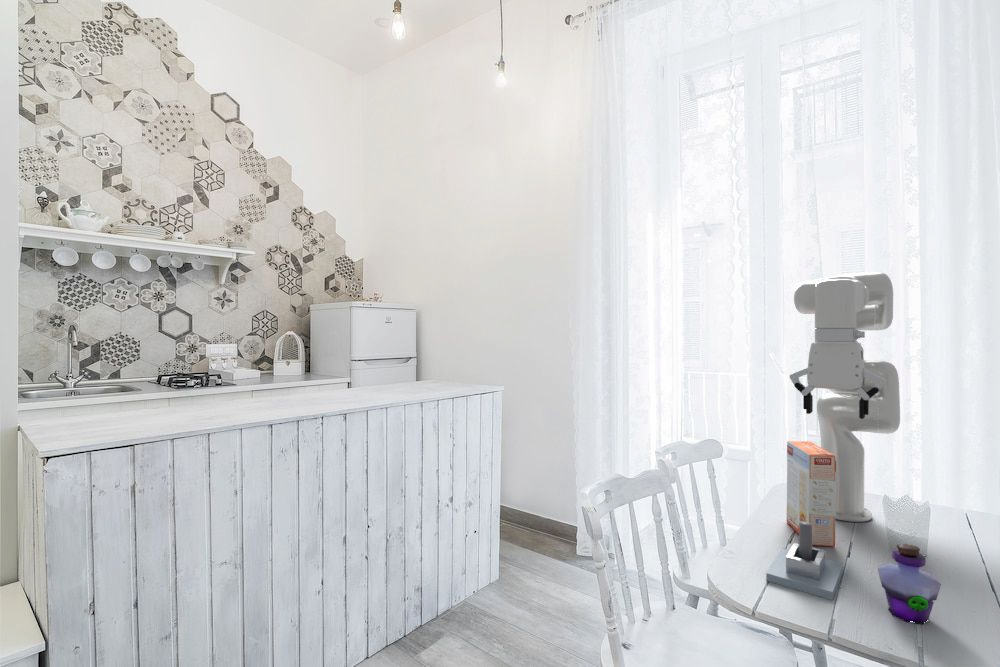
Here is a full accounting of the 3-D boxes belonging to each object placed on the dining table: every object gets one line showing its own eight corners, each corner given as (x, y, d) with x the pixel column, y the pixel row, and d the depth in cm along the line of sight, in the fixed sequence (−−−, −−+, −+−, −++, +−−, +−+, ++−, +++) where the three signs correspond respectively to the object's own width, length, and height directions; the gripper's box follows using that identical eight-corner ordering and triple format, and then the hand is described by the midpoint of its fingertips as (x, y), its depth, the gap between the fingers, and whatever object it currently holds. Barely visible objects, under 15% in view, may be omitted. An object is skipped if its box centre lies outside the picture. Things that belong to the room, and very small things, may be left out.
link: (793, 557, 106) (793, 542, 106) (825, 564, 102) (825, 550, 102) (786, 571, 100) (786, 556, 100) (819, 580, 96) (819, 565, 96)
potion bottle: (905, 631, 83) (905, 559, 83) (864, 602, 92) (865, 536, 91) (955, 628, 83) (956, 556, 83) (910, 600, 92) (910, 534, 92)
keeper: (782, 555, 110) (782, 507, 110) (843, 570, 103) (843, 519, 103) (766, 580, 99) (766, 527, 99) (832, 600, 92) (832, 543, 92)
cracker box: (837, 548, 113) (837, 455, 112) (807, 546, 114) (807, 454, 114) (812, 523, 127) (812, 440, 126) (785, 521, 128) (785, 439, 127)
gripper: (886, 336, 107) (886, 417, 107) (793, 335, 118) (793, 408, 118) (883, 337, 101) (883, 423, 101) (786, 336, 112) (786, 413, 113)
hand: (835, 415), depth 110 cm, fingers open, 9 cm apart
